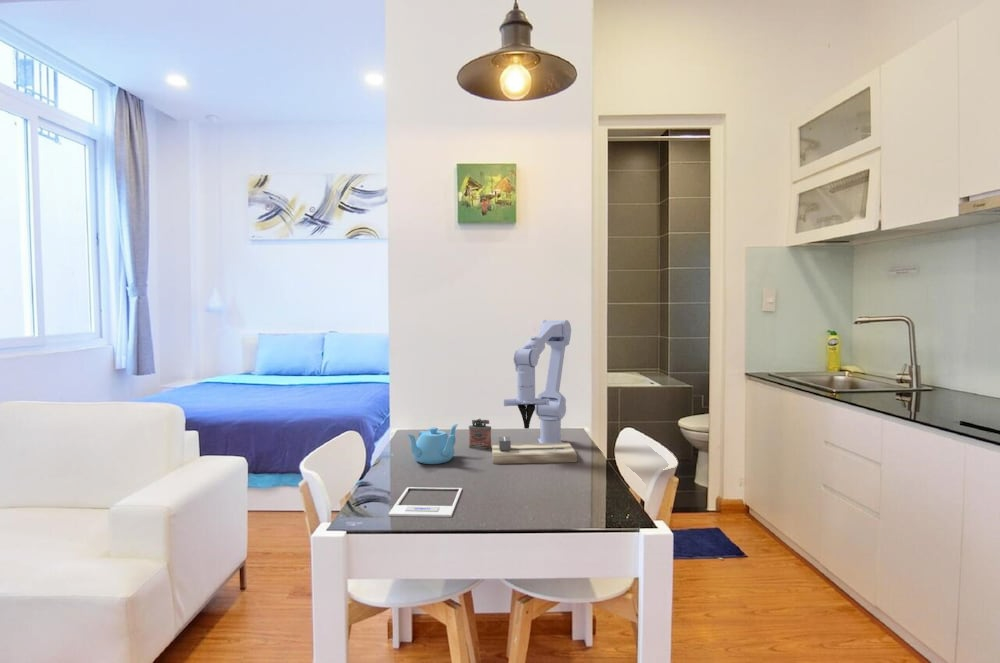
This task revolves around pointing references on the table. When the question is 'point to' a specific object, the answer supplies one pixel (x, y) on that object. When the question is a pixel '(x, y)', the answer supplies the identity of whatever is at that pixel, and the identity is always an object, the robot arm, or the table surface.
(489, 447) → the lighter
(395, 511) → the photo frame
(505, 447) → the fader
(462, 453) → the table surface
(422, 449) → the teapot
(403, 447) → the table surface
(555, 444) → the console board
